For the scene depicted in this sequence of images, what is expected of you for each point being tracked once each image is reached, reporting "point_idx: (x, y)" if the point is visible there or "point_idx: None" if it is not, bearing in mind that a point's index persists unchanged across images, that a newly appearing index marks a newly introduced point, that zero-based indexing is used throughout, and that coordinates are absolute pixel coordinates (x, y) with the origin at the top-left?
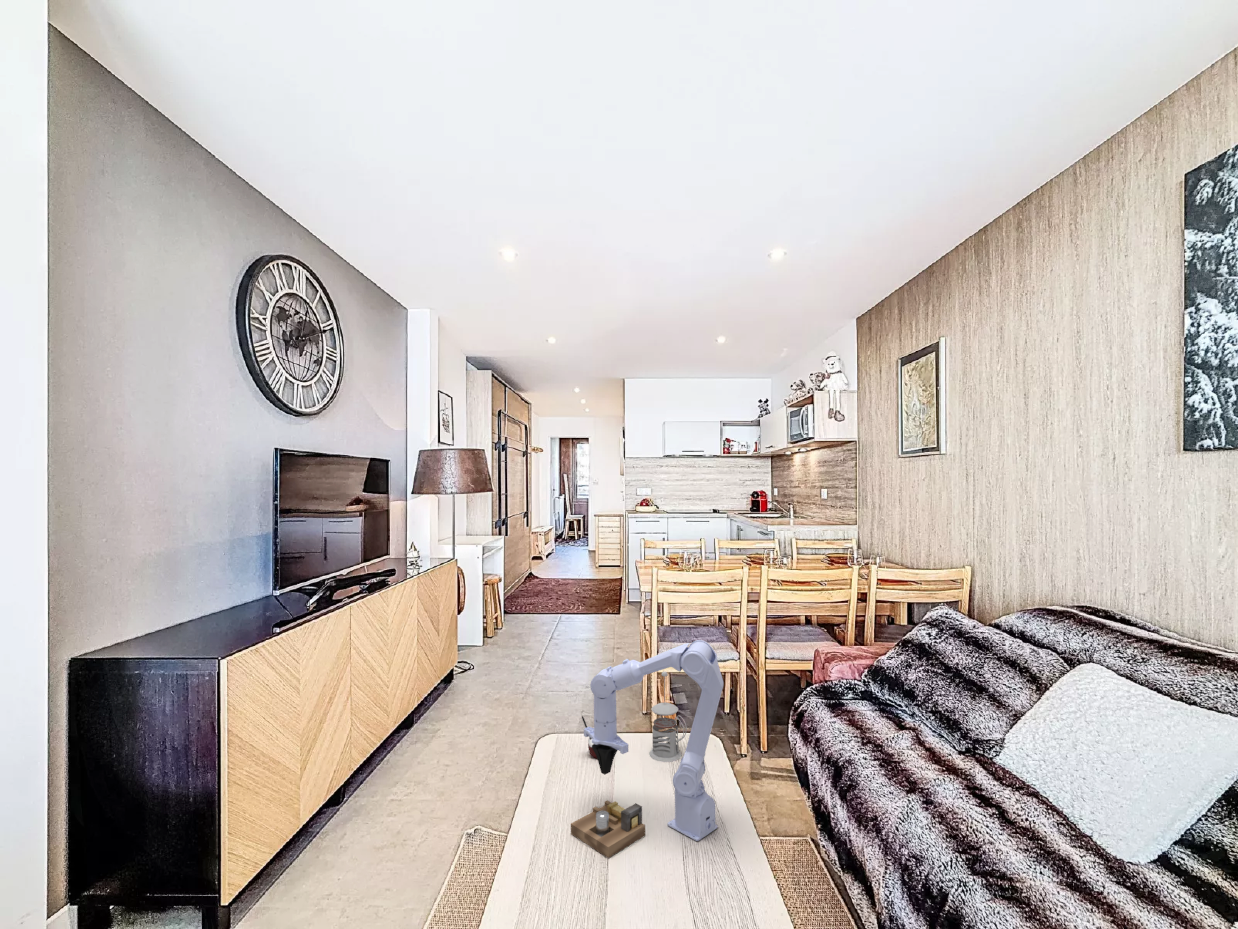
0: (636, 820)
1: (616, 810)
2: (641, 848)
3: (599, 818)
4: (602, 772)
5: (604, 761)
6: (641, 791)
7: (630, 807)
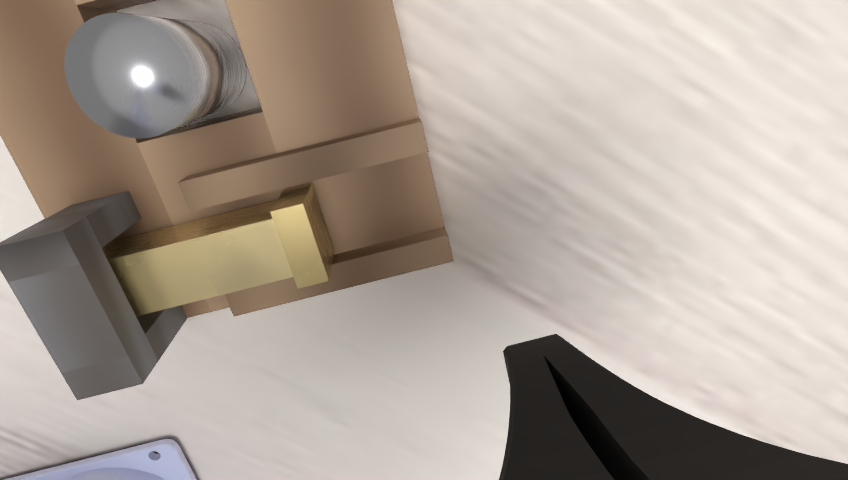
0: None
1: (216, 234)
2: (22, 229)
3: (85, 23)
4: (535, 343)
5: (509, 450)
6: None
7: (93, 323)
